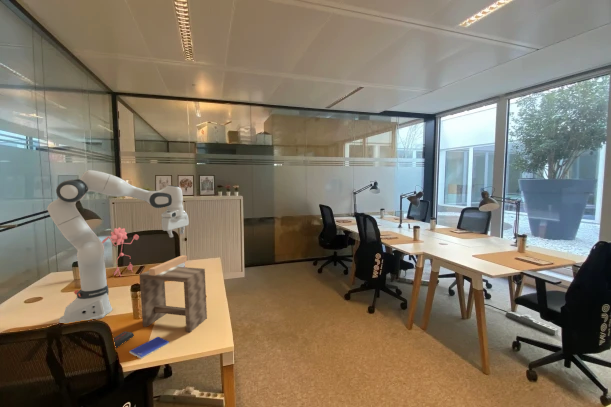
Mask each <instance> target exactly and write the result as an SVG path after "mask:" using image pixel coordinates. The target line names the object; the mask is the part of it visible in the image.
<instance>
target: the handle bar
mask: <svg viewBox="0 0 611 407" xmlns="http://www.w3.org/2000/svg"><path fill="white" fill-rule="evenodd" d="M184 262H188V256H187V255H180V256H177V257H175V258H172V259H170V260H167V261H165V262H162V263H160V264H158V265H155V266H152V267H150V268H148V271H149V275H154V276H155V275H157V274H160V273H162V272H164V271H166V270H168V269H171V268H173V267H175V266H177V265H179V264H181V263H184Z"/></svg>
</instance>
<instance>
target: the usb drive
mask: <svg viewBox="0 0 611 407" xmlns="http://www.w3.org/2000/svg"><path fill="white" fill-rule="evenodd" d="M133 336H134V337H135V335H134V333H133V332H132V331H123V332H121V333H120V334H118V335H116V336H115V337H113V338H114V342H115V346H116V348H115V349H117V348H119V347H120V345H121V344H122V343H123V344H125V343H126V342H128V341H129V340H131V339H132V338H134V337H133ZM130 338H131V339H130ZM127 340H128V341H127ZM125 341H126V342H125ZM124 342H125V343H124ZM123 344H122V345H123ZM122 345H121V346H122ZM118 346H119V347H118Z"/></svg>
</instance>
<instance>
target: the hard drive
mask: <svg viewBox="0 0 611 407" xmlns="http://www.w3.org/2000/svg"><path fill="white" fill-rule="evenodd" d="M169 344H170V341H168V340H166V339H164V338H161V337H160V336H156V337H154V338H153V339H150V340H149V341H146V342H144V343H143V344H141V345H138V346H136V347H135V348H132V349H131V350H129V354H131V355H133V356H134V357H136V356H137V358H138V359H141V360H142V359H143V358H145V357H147V356H149V355H150V354H152V352H153V353H155V352H157V351H158V350H160V349H162V348H163V347H165V346H167V345H169ZM161 347H162V348H161ZM159 348H160V349H159Z"/></svg>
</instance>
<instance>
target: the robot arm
mask: <svg viewBox="0 0 611 407" xmlns="http://www.w3.org/2000/svg"><path fill="white" fill-rule="evenodd" d="M89 192H94V193H98V194H103V195H105V196H110V197H117V198H119V197H129V198H134V199H137V200H140V201H144V202H146V203H148V204H149V205H150V206H151V207H152V208H153V209H162V208H166V210H165V211H163V212H162V213H161V214H160V217H161V229H162V231H164V232H165V231H166V232H167V234H168V236H169V238H174V237H175V236H174V234H173V231H174V230H177V229H180V231H179V234H180V235H184V233H185V229H186V227H188V226H189V224H190V221H189V220H190V219H189V215H188V213H187V211H185V210H184V204H183V201H184V197H183V190H182V188H181V187H180V186H177V185H171V184H170V185H166V187H163V188H162V189H160V190H147V189H144V188H140V187H138V186H137V187H136V186H134V185H132V184H130V183H129V182H127V181H126V180H124V179H123V178H121V177H118V176H115V175H114V174H110V173H107V172H103V171H100V170H93V169H89V170H86V171H85V172H83V173H82V175H81V177H80V178H79V179H78V178H77V179H67V180H64V181H61V182H60V183H59V184H58V185H57V186H56V189H55V193H56V196H57V199H55V200H52V201H51V202H50V203H49V204H47V209H46V210H47V212H48V215H49V216H50V218H51V220H52V222H53V223H54V224H55V226H56V227H57V229H58V230H59V232H60V233H61V235H63V237H64V238H65V239H66V240H67V241H68V242H69V243H70V245H72V246H73V247H74V248H75V250H76V251H77V252H76V257H77V258H76V261H77V266H78V270H79V271H78V272H79V277H80V278H79V280H80V289H75V290H74V291H73V293H74V294H75V295H76V298H75V299H73V300H72V302H70V303H69V304H68V305H67V306H65V308H64V314H63V315H62V316H60V318H59V319H58V324H59V323H69V322H75V321H81V320H90V319H96V320H99V319H103V318H105V317H106V316H107V314H110V313H111V312H112V311H113V307H112V305H111V302H110V299H109V285H108V284H107V273H106V272H107V270H106V264H105V245H104V243H102V240H101V239H100V238H99V236H98V235H97V234H96V233H95V232H94V231H93V229H91V227H90V226H89V224H88V223H87V221H86V219H84V216H82V214H81V213H80V212H79V210H78V208H77V206H76V204H77V203H78V202H79V201H81V200H82V199H83V198H84V197H85V195H86V194H87V193H89Z"/></svg>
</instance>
